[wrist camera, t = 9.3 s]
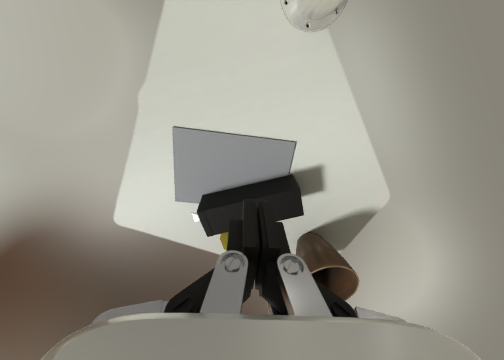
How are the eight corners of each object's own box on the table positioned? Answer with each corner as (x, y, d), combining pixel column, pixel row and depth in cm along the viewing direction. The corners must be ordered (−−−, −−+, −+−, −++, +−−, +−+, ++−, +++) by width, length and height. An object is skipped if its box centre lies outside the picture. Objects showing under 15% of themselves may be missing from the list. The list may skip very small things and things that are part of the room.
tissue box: (300, 188, 45) (182, 215, 46) (304, 215, 48) (195, 239, 50) (292, 173, 52) (190, 197, 54) (296, 198, 55) (200, 220, 57)
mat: (173, 126, 46) (172, 127, 45) (295, 142, 48) (295, 142, 48) (175, 200, 54) (175, 201, 54) (279, 209, 57) (279, 210, 57)
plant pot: (300, 216, 58) (318, 259, 44) (342, 230, 61) (372, 275, 47) (277, 251, 64) (287, 300, 50) (317, 262, 67) (337, 311, 53)
